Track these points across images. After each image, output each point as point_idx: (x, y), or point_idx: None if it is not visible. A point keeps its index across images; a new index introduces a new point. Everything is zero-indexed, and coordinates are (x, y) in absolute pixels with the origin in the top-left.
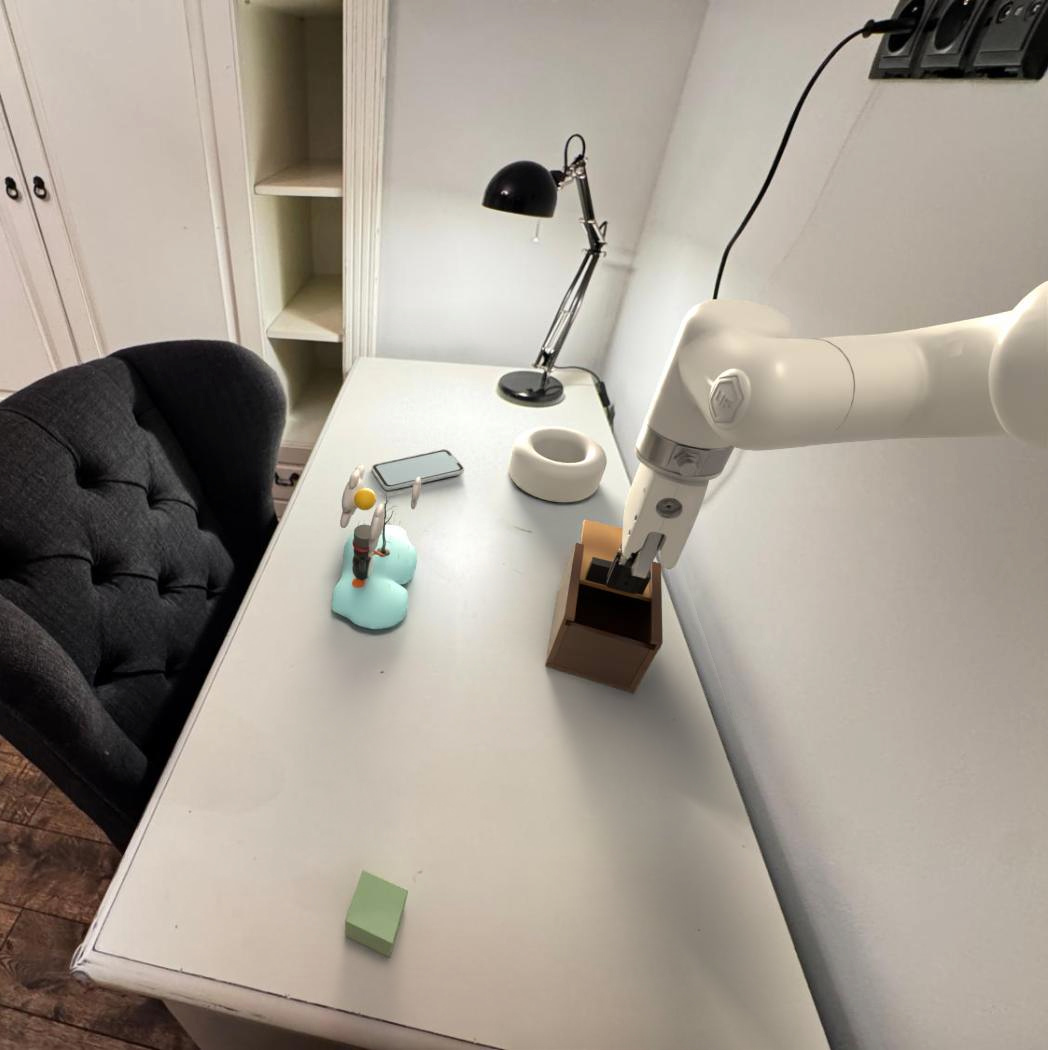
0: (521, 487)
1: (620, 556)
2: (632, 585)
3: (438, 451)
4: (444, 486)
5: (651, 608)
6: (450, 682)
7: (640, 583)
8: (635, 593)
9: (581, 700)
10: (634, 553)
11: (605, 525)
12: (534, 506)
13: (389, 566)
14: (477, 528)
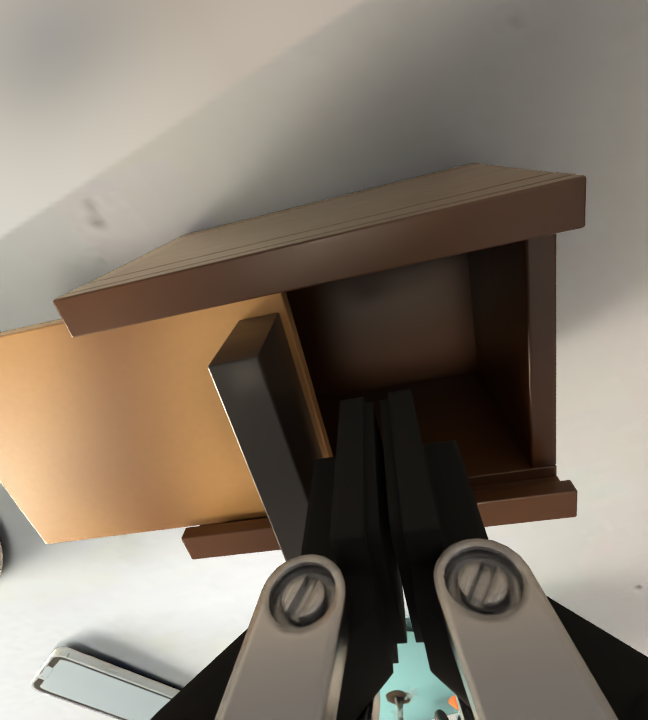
0: (1, 568)
1: (396, 642)
2: (461, 463)
3: (50, 693)
4: (124, 650)
5: (369, 272)
6: (618, 501)
7: (417, 433)
8: (409, 390)
9: (558, 275)
10: (377, 648)
11: (14, 493)
12: (26, 524)
13: (426, 680)
14: (186, 581)
